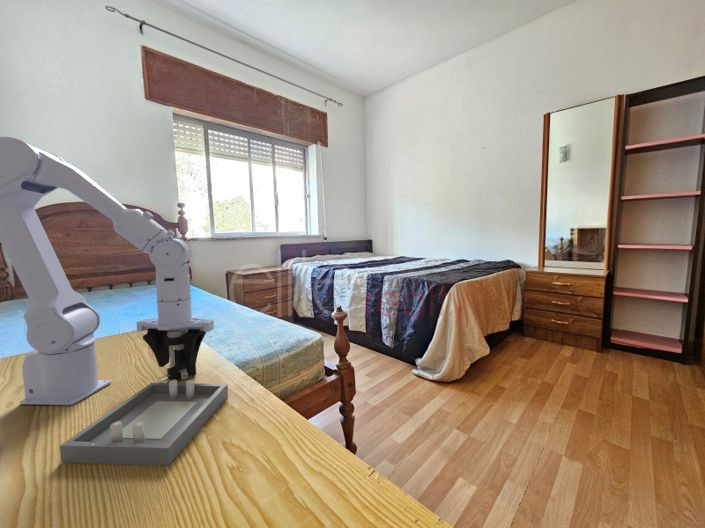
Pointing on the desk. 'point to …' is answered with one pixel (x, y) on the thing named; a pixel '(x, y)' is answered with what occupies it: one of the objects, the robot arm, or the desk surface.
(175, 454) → the pin tray
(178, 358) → the push button
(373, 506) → the desk surface
